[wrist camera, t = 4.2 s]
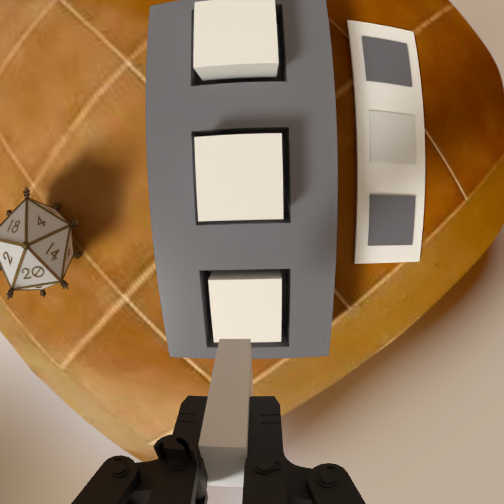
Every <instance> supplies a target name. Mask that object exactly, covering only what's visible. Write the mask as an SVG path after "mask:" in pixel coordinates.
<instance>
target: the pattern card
mask: <svg viewBox="0 0 504 504" xmlns="http://www.w3.org/2000/svg"><path fill="white" fill-rule="evenodd" d="M347 28H348V36H349V45H350V54H351V64H352V75H353V87H354V102H355V122H356V155H357V196H356V231H355V251H354V263H355V264H363V263H393V262H419V260H420V251H421V241H422V230H423V216H424V197H425V131H424V113H423V99H422V89H421V79H420V71H419V63H418V56H417V50H416V43H415V38H414V32H412V31H407V30H403V29H398V28H394V27H389V26H383V25H378V24H372V23H366V22H359V21H351V20H347Z"/></svg>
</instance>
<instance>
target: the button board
mask: <svg viewBox="0 0 504 504" xmlns="http://www.w3.org/2000/svg"><path fill="white" fill-rule="evenodd" d="M199 1H208V0H180V1H174V2H168V3H163V4H158V5H153V6H150V14H149V27H148V43H147V66H146V145H147V169H148V187H149V201H150V214H151V225H152V236H153V245H154V255H155V263H156V271H157V279H158V286H159V294H160V301H161V307H162V314H163V320H164V326H165V332H166V338H167V343H168V349H169V354H170V357H184V358H214V359H215V358H216V353H217V348H218V343H219V342H214V339H213V329H212V318H211V307H210V296H209V284H208V279H209V277H210V275H211V273H212V270H254V269H280V272H281V277H282V320H281V342H251V355H252V359H268V358H298V357H317V356H329V346H330V336H331V325H332V314H333V301H334V287H335V270H336V249H337V217H338V151H337V120H336V100H335V84H334V70H333V58H332V47H331V37H330V28H329V20H328V12H327V4H326V0H275V9H276V24H277V40H278V58H279V65H278V70H277V76H276V77H254V78H232V79H217V80H205V81H202V79H201V78H200V76H199V75H198V74H197V72H196V71H195V69H194V68H193V49H194V4H195V2H199ZM264 133H282V164H283V219H264V220H226V221H198V208H197V190H196V168H195V141H194V137H201V136H216V135H234V134H264Z"/></svg>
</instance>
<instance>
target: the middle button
mask: <svg viewBox="0 0 504 504" xmlns="http://www.w3.org/2000/svg"><path fill="white" fill-rule="evenodd" d="M194 141H195V168H196V190H197V208H198V221H226V220H264V219H283V164H282V133H264V134H234V135H216V136H201V137H194Z"/></svg>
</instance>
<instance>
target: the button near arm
mask: <svg viewBox="0 0 504 504" xmlns="http://www.w3.org/2000/svg"><path fill="white" fill-rule="evenodd" d="M278 65H279V58H278V40H277V24H276V9H275V0H208V1H199V2H195V4H194V49H193V68H194V69H195V71H196V72H197V74H198V75H199V76H200V78H201V79H202V81H205V80H217V79H232V78H254V77H276V76H277V70H278Z"/></svg>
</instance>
